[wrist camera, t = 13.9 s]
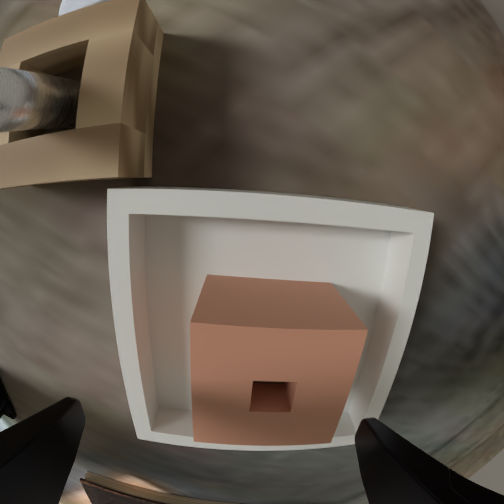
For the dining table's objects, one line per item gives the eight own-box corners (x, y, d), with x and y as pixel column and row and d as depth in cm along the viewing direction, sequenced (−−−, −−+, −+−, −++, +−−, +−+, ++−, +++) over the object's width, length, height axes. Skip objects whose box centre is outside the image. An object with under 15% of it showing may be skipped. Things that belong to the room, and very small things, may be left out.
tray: (354, 412, 18) (367, 441, 15) (148, 407, 17) (137, 438, 14) (402, 206, 14) (434, 213, 11) (132, 186, 14) (107, 188, 11)
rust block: (310, 380, 16) (330, 443, 11) (204, 375, 15) (193, 441, 11) (330, 282, 14) (368, 329, 10) (207, 274, 14) (190, 322, 9)
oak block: (153, 177, 14) (118, 177, 10) (33, 185, 14) (-17, 191, 9) (165, 35, 12) (141, -7, 8) (46, 61, 12) (4, 40, 8)
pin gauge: (50, 122, 12) (-63, 132, 5) (66, 78, 11) (-46, 62, 4) (83, 133, 12) (-36, 146, 5) (100, 86, 11) (-15, 65, 4)
